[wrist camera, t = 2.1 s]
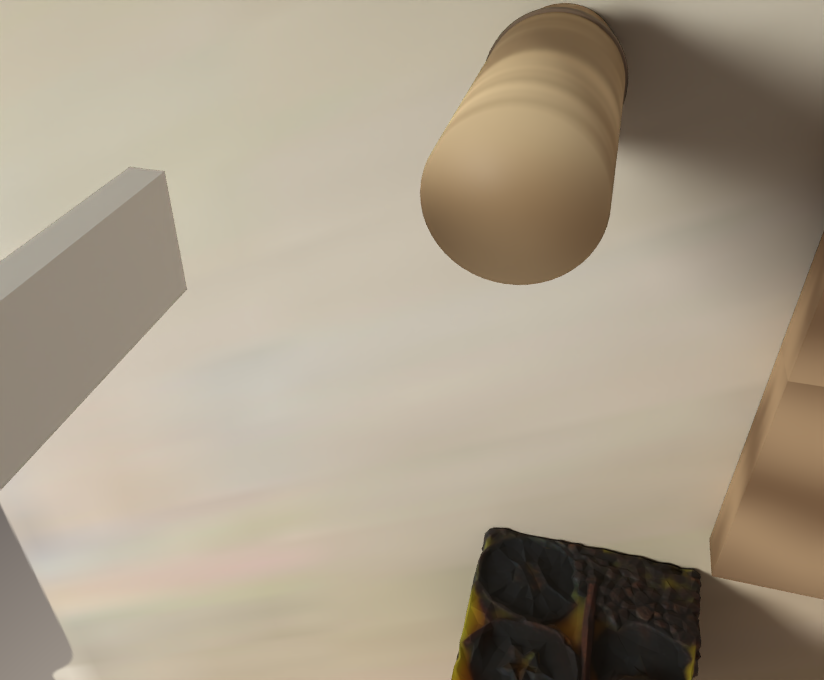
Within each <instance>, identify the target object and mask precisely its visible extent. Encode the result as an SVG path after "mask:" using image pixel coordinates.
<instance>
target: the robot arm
mask: <svg viewBox="0 0 824 680" xmlns="http://www.w3.org/2000/svg"><path fill="white" fill-rule="evenodd" d="M186 290H187V287H186V282H185V277H184V271H183V266H182V261H181V256H180V250H179V245H178V240H177V234H176V229H175V224H174V218H173V213H172V208H171V203H170V197H169V192H168V187H167V181H166V176H165V171H159V170H151V169H143V168H135V167H129V168H127V169H126V170H125V171H123V172H122V173H121V174H119V175H118V176H117V177H115V178H114V179H112V180H111V181H110V182H108V183H107V184H106V185H104V186H103V187H101V188H100V189H99V190H97V191H96V192H95V193H93V194H92V195H91V196H89V197H88V198H86V199H85V200H84V201H82V202H81V203H80V204H78V205H77V206H75V207H74V208H73V209H71V210H70V211H69V212H67V213H66V214H65V215H63V216H62V217H60V218H59V219H58V220H56V221H55V222H54V223H52V224H51V225H49V226H48V227H47V228H45V229H44V230H43V231H41V232H40V233H39V234H37V235H36V236H34V237H33V238H32V239H30V240H29V241H28V242H26V243H25V244H23V245H22V246H21V247H19V248H18V249H17V250H15V251H14V252H13V253H11V254H10V255H8V256H7V257H6V258H4V259H3V260H2V261H0V490H1V489H2V488H3V487H4V486H5V485H6V484H7V483H8V482H9V481H10V480H11V478H12V477H13V476H14V475H15V474H16V473H17V472H18V471H19V470H20V469H21V468H22V467H23V466H24V464H25V463H26V462H27V461H28V460H29V459H30V458H31V457H32V456H33V455H34V454H35V453H36V451H37V450H38V449H39V448H40V447H41V446H42V445H43V444H44V443H45V442H46V441H47V440H48V439H49V437H50V436H51V435H52V434H53V433H54V432H55V431H56V430H57V429H58V428H59V427H60V426H61V425H62V423H63V422H64V421H65V420H66V419H67V418H68V417H69V416H70V415H71V414H72V413H73V412H74V411H75V409H76V408H77V407H78V406H79V405H80V404H81V403H82V402H83V401H84V400H85V399H86V398H87V396H88V395H89V394H90V393H91V392H92V391H93V390H94V389H95V388H96V387H97V386H98V385H99V384H100V382H101V381H102V380H103V379H104V378H105V377H106V376H107V375H108V374H109V373H110V372H111V371H112V370H113V368H114V367H115V366H116V365H117V364H118V363H119V362H120V361H121V360H122V359H123V358H124V357H125V355H126V354H127V353H128V352H129V351H130V350H131V349H132V348H133V347H134V346H135V345H136V344H137V343H138V341H139V340H140V339H141V338H142V337H143V336H144V335H145V334H146V333H147V332H148V331H149V330H150V329H151V327H152V326H153V325H154V324H155V323H156V322H157V321H158V320H159V319H160V318H161V317H162V316H163V315H164V313H165V312H166V311H167V310H168V309H169V308H170V307H171V306H172V305H173V304H174V303H175V302H176V300H177V299H178V298H179V297H180V296H181V295H182V294H183V293H184V292H185V291H186Z"/></svg>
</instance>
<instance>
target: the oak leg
mask: <svg viewBox="0 0 824 680" xmlns="http://www.w3.org/2000/svg"><path fill="white" fill-rule="evenodd" d="M627 84H628V68H627V62H626V58H625V55H624V51H623V49H622V47H621V45H620V43H619V41H618V39H617V38H616V36H615V35H614V33H613V32H612V31H611V29H610V28H609V26H608V25H607V23H606V22H605V21H604V20H603V19H602V18H601V17H600V16H599V15H598V14H596V13H595V12H593V11H592V10H590V9H588V8H586V7H583V6H580V5H576V4H570V3H560V4H553V5H549V6H546V7H543V8H541V9H538V10H535V11H532V12H530V13H527V14H525V15H523V16H522V17H520V18H518V19H517V20H515V21H514V22H513V23H512V24H510V25H509V26H508V27H507V28H506V29H505V30H504V31H503V32H502V33H501V35H500V36H499V37H498V39H497V40H496V41H495V43H494V45H493V47H492V48H491V50H490V52H489V55H488V57H487V60H486V62H485V64H484V66H483V67H482V69H481V71H480V72H479V74H478V76H477V77H476V79H475V81H474V82H473V84H472V86H471V87H470V89H469V91H468V92H467V94H466V96H465V97H464V99H463V101H462V102H461V104H460V106H459V107H458V109H457V111H456V112H455V114H454V116H453V117H452V119H451V121H450V122H449V124H448V126H447V127H446V129H445V131H444V132H443V134H442V136H441V137H440V139H439V141H438V142H437V144H436V146H435V147H434V149H433V151H432V153H431V154H430V156H429V158H428V160H427V163H426V165H425V168H424V171H423V175H422V179H421V189H420V197H421V207H422V212H423V216H424V219H425V222H426V225H427V227H428V229H429V231H430V233H431V235H432V236H433V238H434V240H435V241H436V243H437V244H438V245H439V247H440V248H441V249H442V250H443V251H444V253H445V254H447V255H448V256H449V257H450V258H451V259H452V260H453V261H454V262H456V263H457V264H458V265H459V266H461V267H462V268H464V269H466V270H467V271H469V272H471V273H473V274H475V275H477V276H479V277H482V278H484V279H487V280H491V281H494V282H499V283H504V284H513V285H528V284H536V283H541V282H545V281H549V280H552V279H555V278H557V277H560V276H562V275H564V274H566V273H568V272H570V271H571V270H573V269H574V268H576V267H577V266H578V265H580V264H581V263H582V262H583V261H584V260H585V259H587V258H588V257H589V256H590V254H591V253H592V252H593V251H594V249H595V248H596V247H597V245H598V244H599V242H600V240H601V239H602V237H603V235H604V232H605V230H606V227H607V224H608V220H609V216H610V209H611V201H612V192H613V184H614V176H615V167H616V159H617V150H618V142H619V133H620V125H621V117H622V108H623V104H624V101H625V97H626V92H627Z"/></svg>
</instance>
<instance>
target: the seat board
mask: <svg viewBox="0 0 824 680" xmlns="http://www.w3.org/2000/svg"><path fill="white" fill-rule="evenodd" d="M710 555H711V572H712V576H715V577H719V578H724V579H729V580H734V581H738V582H743V583H748V584H753V585H758V586H762V587H767V588H772V589H777V590H781V591H786V592H791V593H796V594H800V595H805V596H810V597H815V598H820V599H824V232H823V235H822V237H821V240H820V243H819V246H818V248H817V251H816V254H815V256H814V259H813V262H812V264H811V267H810V270H809V272H808V275H807V278H806V281H805V283H804V286H803V289H802V291H801V294H800V297H799V299H798V302H797V305H796V308H795V310H794V313H793V316H792V318H791V321H790V324H789V326H788V329H787V332H786V334H785V337H784V340H783V343H782V345H781V348H780V351H779V353H778V356H777V359H776V361H775V364H774V367H773V369H772V372H771V375H770V378H769V380H768V383H767V386H766V388H765V391H764V394H763V396H762V399H761V402H760V405H759V407H758V410H757V413H756V415H755V418H754V421H753V423H752V426H751V429H750V431H749V434H748V437H747V440H746V442H745V445H744V448H743V450H742V453H741V456H740V458H739V461H738V464H737V466H736V469H735V472H734V475H733V477H732V480H731V483H730V485H729V488H728V491H727V493H726V496H725V499H724V501H723V504H722V507H721V510H720V512H719V515H718V518H717V520H716V523H715V526H714V528H713V531H712V534H711V537H710Z"/></svg>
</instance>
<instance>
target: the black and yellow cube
mask: <svg viewBox="0 0 824 680" xmlns="http://www.w3.org/2000/svg"><path fill="white" fill-rule="evenodd" d="M482 551H483V552H482V554H481V556H480V558H479V561H478V564H477V568H476V572H475V576H474V580H473V585H472V589H471V595H470V599H469V604H468V608H467V613H466V618H465V623H464V628H463V632H462V636H461V639H460V645H459V653H458V655H457V661H456V663H455V666H454V669H453V674H452V679H451V680H692V679H693V677H695V676H697V675H698V660H699V658H700V657H701V656H700V653H699V649H700V647H701V639H700V638H701V637H700V630H699V620H698V617H699V612H700V598H701V597H700V593H699V592H700V587H701V582H700V578H701V576H700V574H699V573H697V572H696V571H695V570H691V569H679V568H678V567H675V566H672V565H668V564H661V563H654V562H652V561H649V560H647V559H644V558H641V557H634V556H627V555H622V554H618V553H614V552H611V551H607V550H604V549H594V548H587V547H583V546H582V545H580V544H571V543H566V542H562V541H554V540H549V539H544V538H539V537H534V536H530V535H526V534H521V533H517V532H514V531H511V530H508V529H492V528H490V529H489V530H488V531H487V532H486V533H485V537H484V544H483V547H482Z"/></svg>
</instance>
